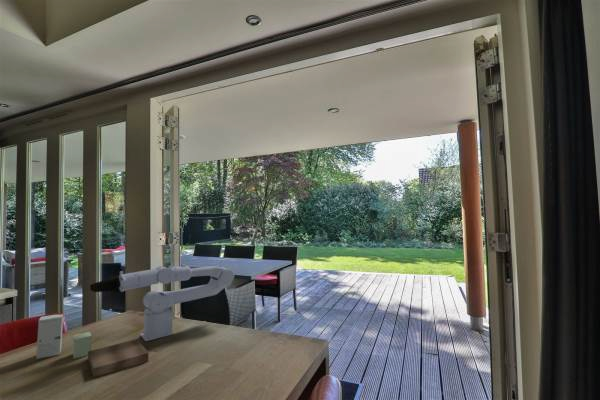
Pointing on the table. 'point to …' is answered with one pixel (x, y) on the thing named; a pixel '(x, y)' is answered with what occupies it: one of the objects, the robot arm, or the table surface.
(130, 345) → the walnut base
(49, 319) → the skincare box
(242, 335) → the table surface
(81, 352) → the sage block
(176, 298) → the robot arm
